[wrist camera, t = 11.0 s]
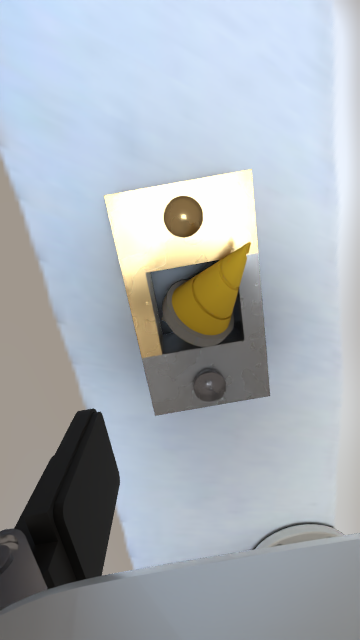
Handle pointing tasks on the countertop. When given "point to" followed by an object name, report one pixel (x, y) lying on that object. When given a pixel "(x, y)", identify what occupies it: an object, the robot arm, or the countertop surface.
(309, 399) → the countertop surface
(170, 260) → the metal strike plate
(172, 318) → the yellow tiered cone
